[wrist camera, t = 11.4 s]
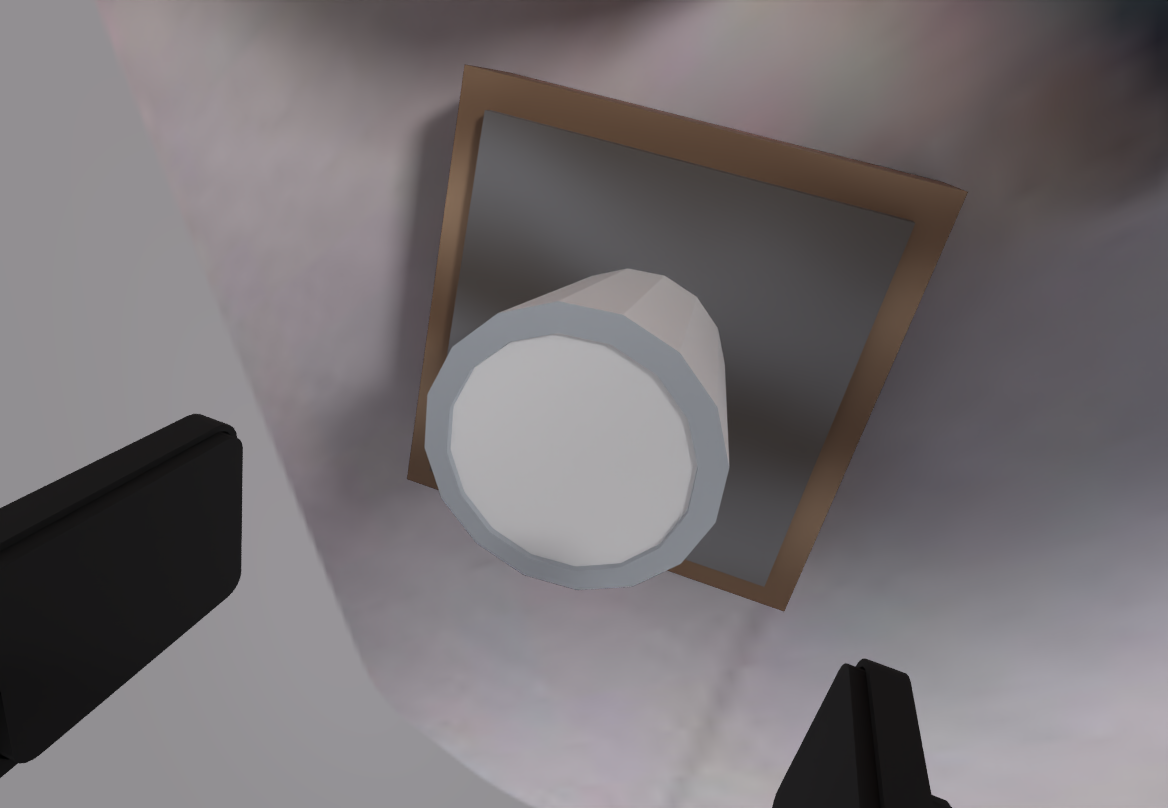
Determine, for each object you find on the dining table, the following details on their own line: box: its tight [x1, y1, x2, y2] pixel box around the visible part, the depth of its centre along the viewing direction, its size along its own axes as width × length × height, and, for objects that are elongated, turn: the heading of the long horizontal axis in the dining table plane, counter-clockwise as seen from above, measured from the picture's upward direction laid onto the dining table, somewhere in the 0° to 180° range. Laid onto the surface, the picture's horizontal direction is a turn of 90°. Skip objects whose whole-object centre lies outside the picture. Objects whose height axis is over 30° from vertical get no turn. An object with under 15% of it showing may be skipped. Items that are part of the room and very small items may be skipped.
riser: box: [407, 65, 968, 611], centre depth 23 cm, size 14×14×4 cm
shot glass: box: [425, 268, 729, 590], centre depth 19 cm, size 7×7×7 cm
